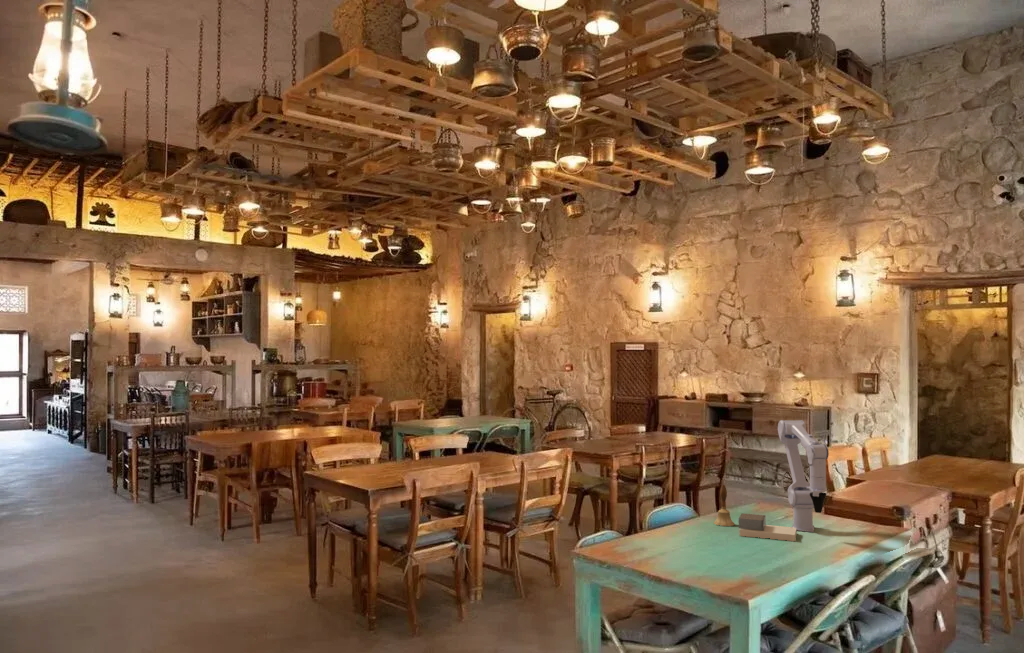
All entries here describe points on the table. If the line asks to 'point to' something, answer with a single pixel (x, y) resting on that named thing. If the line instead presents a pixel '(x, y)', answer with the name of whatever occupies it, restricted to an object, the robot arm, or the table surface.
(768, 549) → the table surface
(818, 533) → the table surface
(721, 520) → the hand bell
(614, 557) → the table surface
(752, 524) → the cover
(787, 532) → the board
